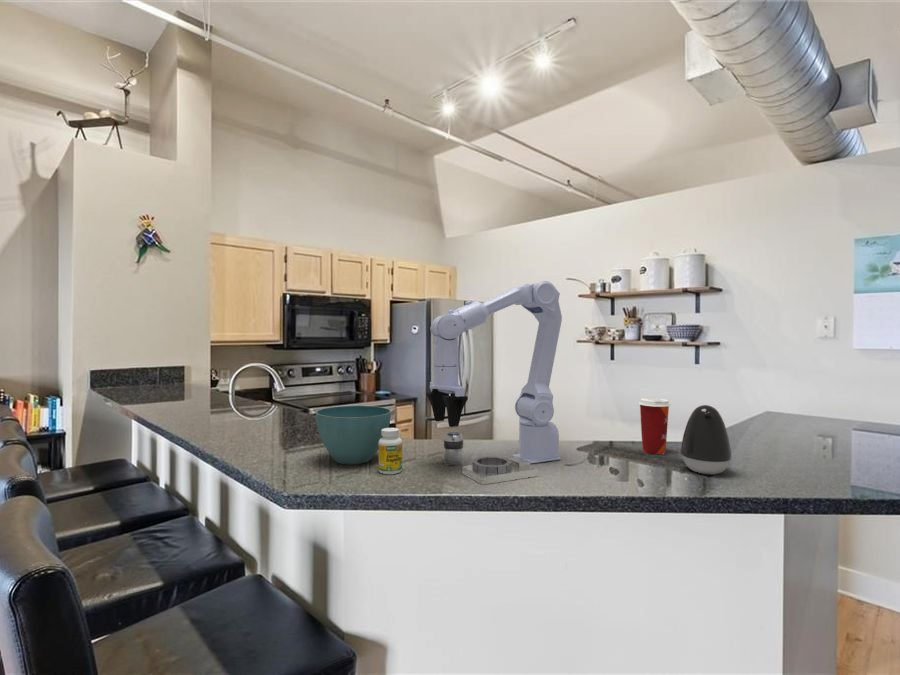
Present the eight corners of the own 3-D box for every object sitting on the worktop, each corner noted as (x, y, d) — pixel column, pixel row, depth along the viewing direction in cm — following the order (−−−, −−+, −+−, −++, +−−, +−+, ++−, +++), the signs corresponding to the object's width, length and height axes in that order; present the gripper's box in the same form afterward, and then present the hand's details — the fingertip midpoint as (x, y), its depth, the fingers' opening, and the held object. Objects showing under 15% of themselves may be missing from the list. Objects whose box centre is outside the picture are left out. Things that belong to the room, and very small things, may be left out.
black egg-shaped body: (683, 475, 108) (683, 407, 107) (678, 463, 117) (679, 401, 117) (735, 480, 104) (736, 409, 104) (726, 467, 114) (727, 403, 114)
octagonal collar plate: (514, 466, 115) (514, 452, 115) (537, 476, 107) (537, 461, 107) (462, 473, 109) (462, 459, 109) (482, 484, 101) (482, 469, 100)
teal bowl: (383, 449, 131) (383, 403, 131) (397, 466, 114) (398, 414, 114) (313, 454, 125) (314, 406, 125) (317, 473, 108) (317, 418, 108)
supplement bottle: (395, 466, 114) (395, 426, 114) (406, 472, 109) (406, 430, 109) (374, 470, 111) (374, 428, 111) (384, 476, 106) (384, 432, 106)
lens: (457, 459, 120) (457, 430, 120) (466, 464, 116) (466, 434, 116) (440, 462, 118) (440, 432, 118) (448, 466, 114) (449, 436, 114)
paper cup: (674, 455, 125) (675, 401, 125) (644, 455, 125) (645, 401, 125) (662, 448, 133) (662, 397, 132) (633, 448, 133) (634, 397, 132)
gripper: (418, 364, 119) (418, 420, 119) (444, 368, 106) (444, 430, 106) (444, 363, 122) (444, 417, 122) (472, 367, 109) (472, 427, 109)
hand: (446, 423), depth 114 cm, fingers open, 7 cm apart
